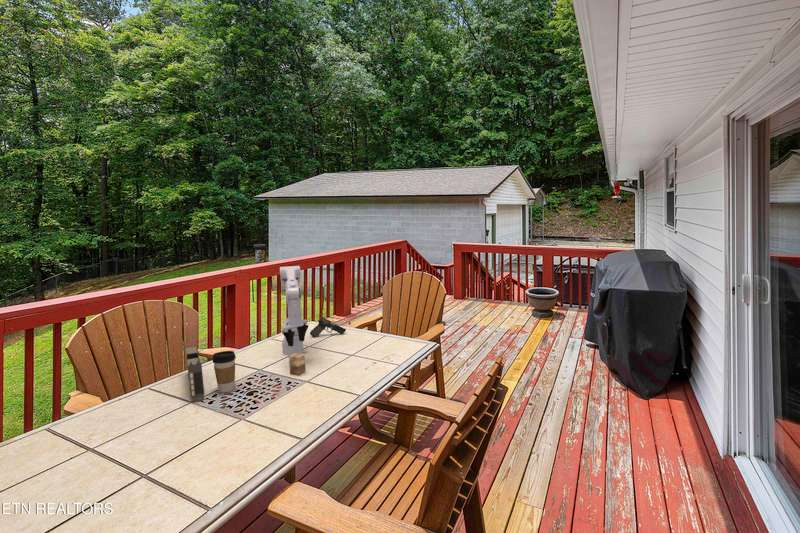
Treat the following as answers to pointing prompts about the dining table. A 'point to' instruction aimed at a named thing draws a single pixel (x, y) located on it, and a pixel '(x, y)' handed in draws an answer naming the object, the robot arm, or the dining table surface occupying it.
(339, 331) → the handgun
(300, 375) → the board
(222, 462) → the dining table surface
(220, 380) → the coffee cup
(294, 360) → the maple block
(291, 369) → the walnut block
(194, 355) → the graphics card
